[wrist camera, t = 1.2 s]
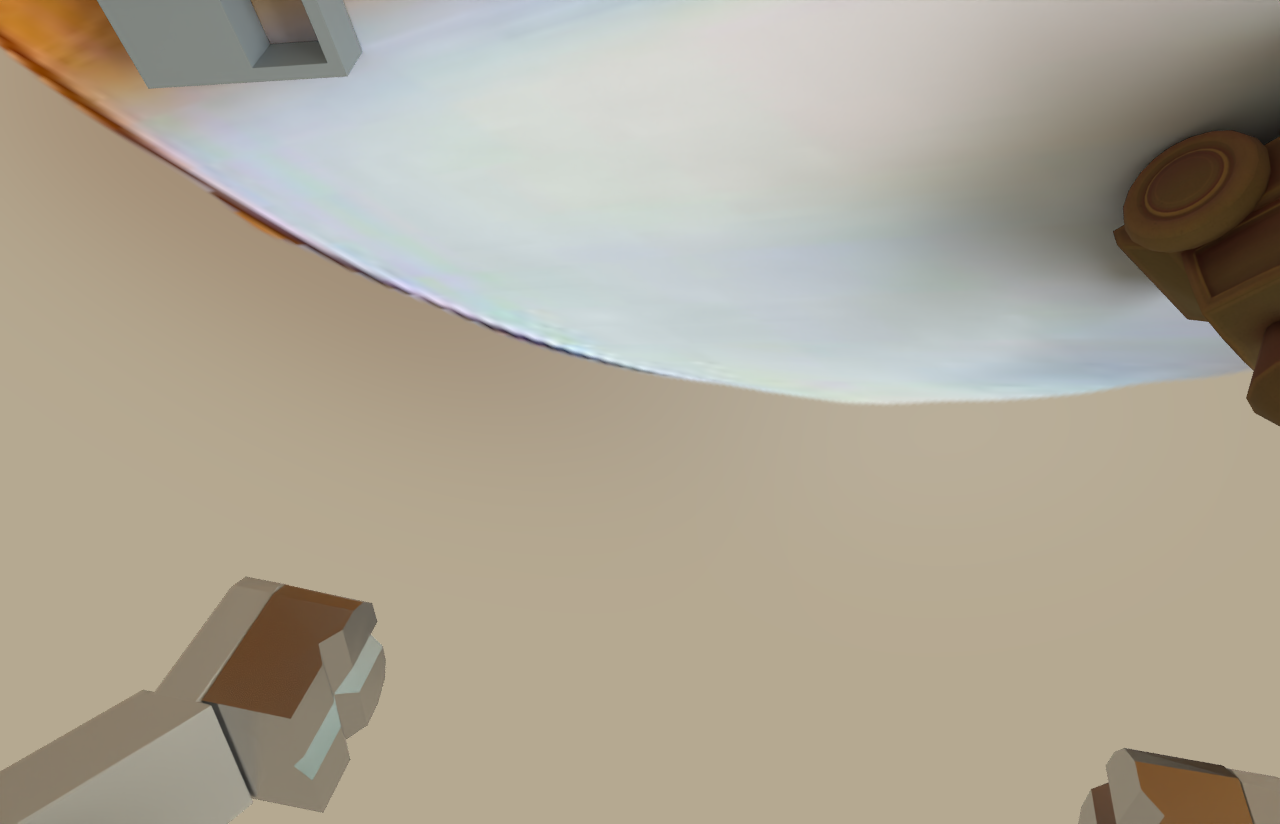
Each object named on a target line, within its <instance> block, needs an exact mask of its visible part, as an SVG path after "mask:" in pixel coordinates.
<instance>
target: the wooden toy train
mask: <svg viewBox="0 0 1280 824" xmlns="http://www.w3.org/2000/svg"><path fill="white" fill-rule="evenodd" d="M1123 212H1124V225H1123V226H1122V227H1120V228H1118V229H1116V230H1115V231H1113V233H1114V236H1115V240H1116V243H1117V245H1118V246H1119V248H1120V249H1121V250H1122V251H1123V252H1124V253H1125V254H1126V255H1127V256H1128V257H1129V258H1130V259H1131V260H1132V261H1133V262H1134V263H1135V264H1136V265H1137V266H1138V268H1139V269H1140V270H1141V271H1142V272H1143V273H1144V274H1145V275H1146V276H1147V277H1148V278H1149V279H1150V280H1151V281H1152V282H1153V283H1154V284H1155V285H1156V287H1157V288H1158V289H1159V290H1160V291H1161V292H1162V293H1163V294H1164V295H1165V296H1166V297H1167V298H1168V299H1169V300H1170V301H1171V302H1172V303H1173V304H1174V306H1175V307H1176V308H1177V309H1178V310H1179V311H1180V312H1181V313H1182V314H1183V315H1184V316H1185V317H1186V318H1187V319H1189V320H1198V321H1206V322H1209V323H1210V324H1211V325H1212V327H1213V328H1214V329H1215V330H1216V331H1217V333H1218V334H1219V335H1220V336H1221V338H1222V339H1223V340H1224V341H1225V342H1226V343H1227V344H1228V345H1229V346H1230V347H1231V348H1232V349H1233V350H1234V351H1235V353H1236V354H1237V355H1238V356H1239V357H1240V358H1241V359H1242V360H1243V361H1244V362H1245V363H1246V364H1247V365H1248V366H1249V367H1250V368H1251V369H1253V370H1254V372H1253V376H1252V379H1251V383H1250V386H1249V390H1248V394H1247V397H1246V398H1247V400H1248V402H1249V404H1250V405H1251V407H1252V409H1253V411H1254V412H1255V413H1256V414H1258V415H1260V416H1262V417H1264V418H1265V419H1267V420H1269V421H1271V422H1273V423H1275V424H1276V425H1278V426H1280V137H1278V138H1276V139H1274V140H1273V141H1271V142H1269V143H1267V144H1266V145H1263V144H1262V143H1261V142H1260V141H1259V140H1258V139H1257V138H1255V137H1252V136H1249V135H1246V134H1243V133H1239V132H1236V131H1233V130H1226V131H1211V132H1207V133H1204V134H1200V135H1197V136H1193V137H1189V138H1187V139H1185V140H1183V141H1181V142H1179V143H1177V144H1175V145H1173V146H1171V147H1170V148H1168V149H1167V150H1166V151H1164V152H1163V153H1161V154H1160V155H1159V156H1157V157H1156V158H1155V159H1153V160H1152V161H1151V162H1150V163H1149V165H1148V166H1147V167H1146V168H1145V169H1144V170H1143V171H1142V172H1141V173H1140V174H1139V176H1138V177H1137V179H1136V180H1135V182H1134V183H1133V185H1132V186H1131V188H1130V190H1129V191H1128V194H1127V197H1126V200H1125V203H1124V206H1123Z"/></svg>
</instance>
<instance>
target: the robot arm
mask: <svg viewBox="0 0 1280 824" xmlns="http://www.w3.org/2000/svg"><path fill="white" fill-rule="evenodd" d="M376 623H377V619H376V615H375V612H374V608H373V605H372V603H369V602H364V601H360V600H355V599H350V598H346V597H341V596H336V595H331V594H326V593H321V592H317V591H313V590H308V589H303V588H298V587H294V586H289V585H286V584H280V583H276V582H271V581H266V580H260V579H255V578H250V577H245V578H243V579H242V580H240V581H239V582H237V583H236V584H235V585H233V586H232V587H231V588H230V589H229V591H228V592H227V593H226V595H225V596H224V598H223V599H222V600H221V602H220V603H219V604H218V606H217V607H216V609H215V610H214V611H213V613H212V614H211V615H210V617H209V618H208V620H207V621H206V622H205V624H204V625H203V626H202V628H201V629H200V630H199V632H198V633H197V635H196V636H195V637H194V639H193V640H192V641H191V643H190V644H189V645H188V647H187V648H186V650H185V651H184V652H183V654H182V655H181V656H180V658H179V659H178V661H177V662H176V664H175V665H174V666H173V667H172V669H171V670H170V672H169V673H168V674H167V676H166V677H165V678H164V680H163V681H162V683H161V684H160V685H159V687H158V688H157V689H156V691H155V692H152V691H146V690H142V691H140V692H138V693H136V694H135V695H133V696H131V697H129V698H128V699H126V700H124V701H122V702H121V703H119V704H117V705H115V706H114V707H112V708H110V709H108V710H107V711H105V712H103V713H101V714H100V715H98V716H96V717H95V718H93V719H91V720H89V721H88V722H86V723H84V724H82V725H80V726H79V727H77V728H75V729H74V730H72V731H70V732H68V733H67V734H65V735H64V736H61V737H60V738H58V739H56V740H54V741H53V742H51V743H49V744H47V745H46V746H44V747H42V748H40V749H39V750H37V751H35V752H33V753H32V754H30V755H28V756H26V757H25V758H23V759H21V760H19V761H18V762H16V763H14V764H12V765H11V766H9V767H7V768H6V769H4V770H2V771H0V824H228V823H229V822H230V821H232V820H233V819H234V818H235V817H237V816H238V815H239V814H240V813H241V812H243V810H245V809H246V808H248V807H249V806H250V805H251V804H252V803H253V801H252V798H253V799H258V800H263V801H268V802H273V803H278V804H283V805H288V806H293V807H298V808H303V809H308V810H313V811H318V812H324V810H325V808H326V806H327V804H328V802H329V800H330V798H331V796H332V794H333V792H334V790H335V788H336V787H337V785H338V782H339V781H340V779H341V777H342V775H343V772H344V771H345V769H346V767H347V765H348V763H349V761H350V756H349V751H348V746H347V742H346V739H347V738H349V737H350V736H352V735H353V734H355V733H356V732H358V731H359V730H361V729H362V728H364V727H365V726H367V725H368V723H369V720H370V719H371V717H372V714H373V712H374V710H375V708H376V706H377V704H378V701H379V697H380V694H381V690H382V686H383V683H384V679H385V655H384V650H383V646H382V645H381V644H380V643H379V642H378V641H377V640H376V639H375V638H374V637H373V636H372V635H371V633H372V631H373V629H374V627H375V625H376ZM1106 770H1107V776H1108V781H1109V783H1106V784H1103V785H1101V786H1098V787H1096V788H1093V789H1091V791H1090V792H1089V794H1088V796H1087V798H1086V800H1085V802H1084V804H1083V805H1082V807H1081V812H1080V818H1079V823H1078V824H1280V778H1278V777H1274V776H1268V775H1262V774H1256V773H1251V772H1245V771H1239V770H1233V769H1228V768H1225V767H1224V766H1222V765H1216V764H1210V763H1205V762H1199V761H1193V760H1188V759H1183V758H1177V757H1171V756H1166V755H1160V754H1154V753H1149V752H1143V751H1138V750H1132V749H1127V748H1123V749H1121V750H1118V751H1116V752H1115V753H1114V754H1113V755H1112V757H1111V758H1110V760H1109V761H1108V763H1107V765H1106Z"/></svg>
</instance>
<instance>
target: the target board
mask: <svg viewBox="0 0 1280 824" xmlns="http://www.w3.org/2000/svg"><path fill="white" fill-rule="evenodd" d="M97 1H98V3H99V5H100V6H101V8H102V10H103V11H104V13H105V15H106V17H107V18H108V20H109V22H110V23H111V25H112V27H113V29H114V30H115V32H116V34H117V36H118V37H119V39H120V41H121V42H122V44H123V46H124V48H125V49H126V51H127V53H128V54H129V56H130V58H131V60H132V61H133V63H134V65H135V66H136V68H137V70H138V72H139V73H140V75H141V77H142V78H143V80H144V82H145V84H146V85H147V87H148V89H150V88H166V87H182V86H198V85H215V84H231V83H247V82H264V81H280V80H296V79H312V78H329V77H345V76H348V75H349V73H350V71H351V70H352V68H353V66H354V65H355V63H356V62H357V60H358V58H359V57H360V55H361V54H362V50H361V47H360V44H359V42H358V39H357V37H356V34H355V31H354V29H353V26H352V23H351V21H350V18H349V16H348V13H347V10H346V8H345V5H344V3H343V0H302V3H303V5H304V7H305V10H306V12H307V15H308V17H309V19H310V22H311V24H312V27H313V29H314V31H315V34H316V36H317V39H318V41H310V42H296V43H282V44H270V43H269V41H268V38H267V36H266V34H265V32H264V30H263V27H262V25H261V23H260V21H259V19H258V17H257V14H256V12H255V10H254V8H253V6H252V3H251V1H250V0H97Z"/></svg>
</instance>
